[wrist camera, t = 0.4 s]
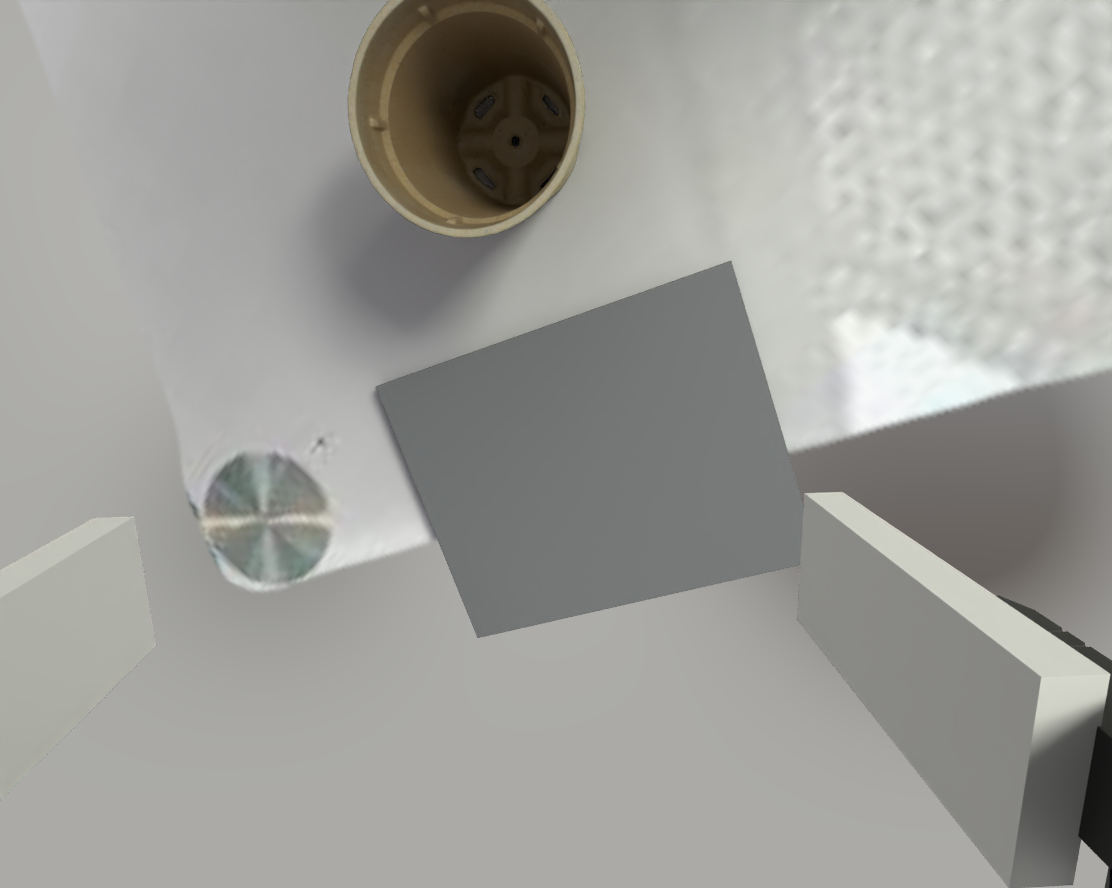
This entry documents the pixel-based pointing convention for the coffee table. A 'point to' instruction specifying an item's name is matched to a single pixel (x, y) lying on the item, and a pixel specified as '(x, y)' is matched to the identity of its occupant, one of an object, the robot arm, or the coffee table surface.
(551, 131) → the flower pot
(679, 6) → the coffee table surface
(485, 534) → the charcoal mat
